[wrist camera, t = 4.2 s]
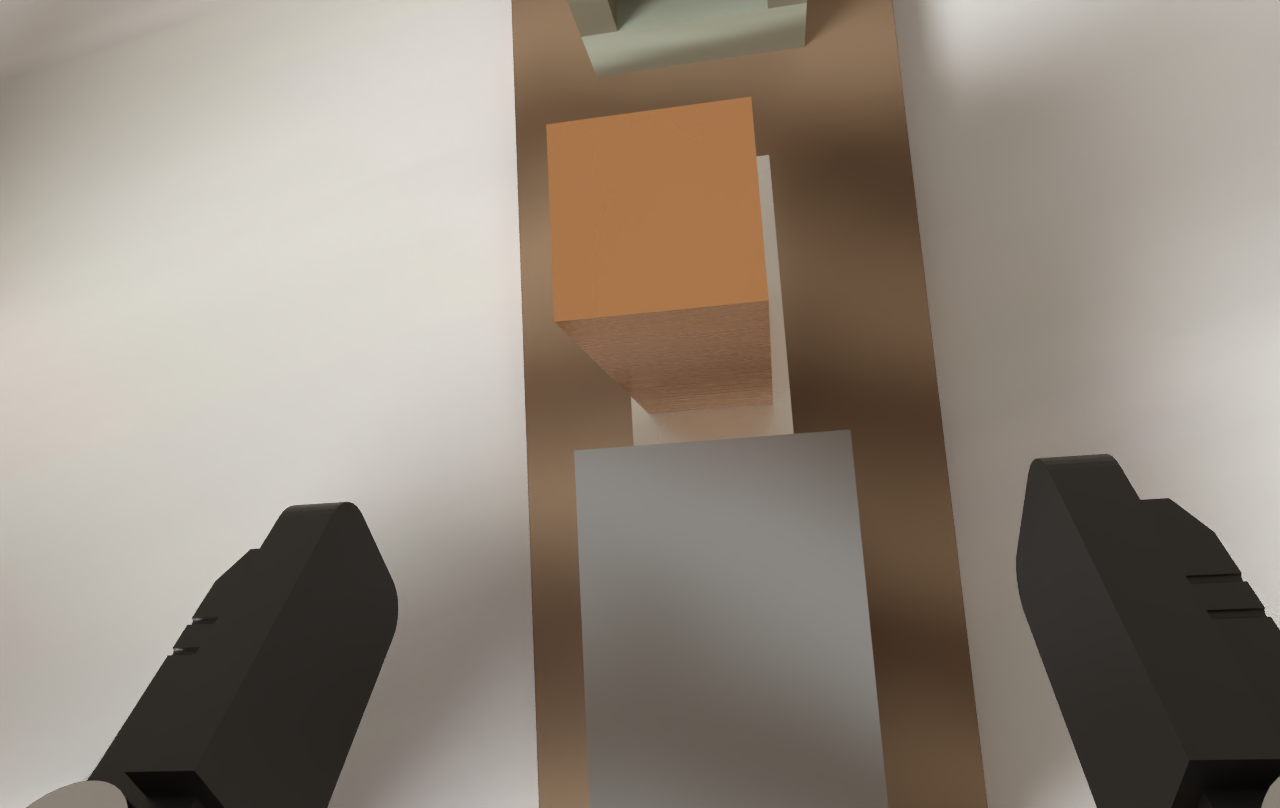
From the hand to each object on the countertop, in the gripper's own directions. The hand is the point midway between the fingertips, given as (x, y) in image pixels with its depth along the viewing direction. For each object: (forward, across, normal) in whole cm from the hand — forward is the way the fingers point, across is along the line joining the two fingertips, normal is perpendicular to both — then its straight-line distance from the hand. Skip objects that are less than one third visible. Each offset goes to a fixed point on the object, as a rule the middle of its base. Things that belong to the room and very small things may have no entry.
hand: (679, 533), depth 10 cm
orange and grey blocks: (+6, 0, +7) cm, 10 cm away
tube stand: (+12, 0, +7) cm, 13 cm away
